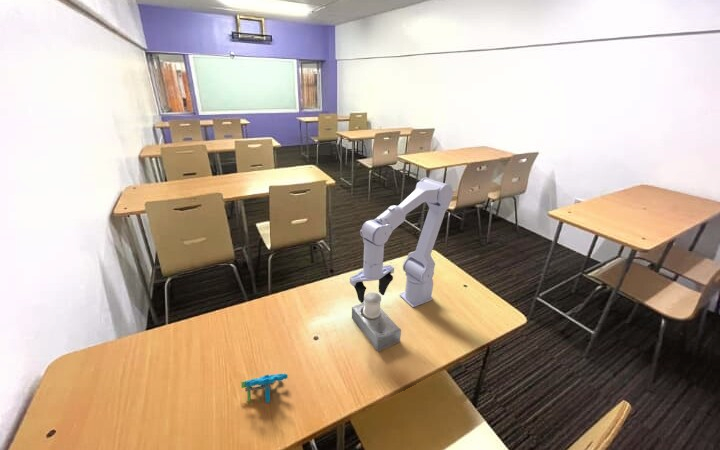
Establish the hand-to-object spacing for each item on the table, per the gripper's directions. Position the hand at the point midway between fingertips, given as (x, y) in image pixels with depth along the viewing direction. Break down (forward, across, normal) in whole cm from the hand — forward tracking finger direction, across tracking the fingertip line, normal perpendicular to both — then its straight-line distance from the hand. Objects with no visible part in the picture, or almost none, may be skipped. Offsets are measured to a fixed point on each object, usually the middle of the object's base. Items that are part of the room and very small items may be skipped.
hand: (371, 297), depth 94 cm
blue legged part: (+11, +36, +8) cm, 38 cm away
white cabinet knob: (+6, 0, +1) cm, 6 cm away
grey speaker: (+10, 0, +3) cm, 11 cm away
